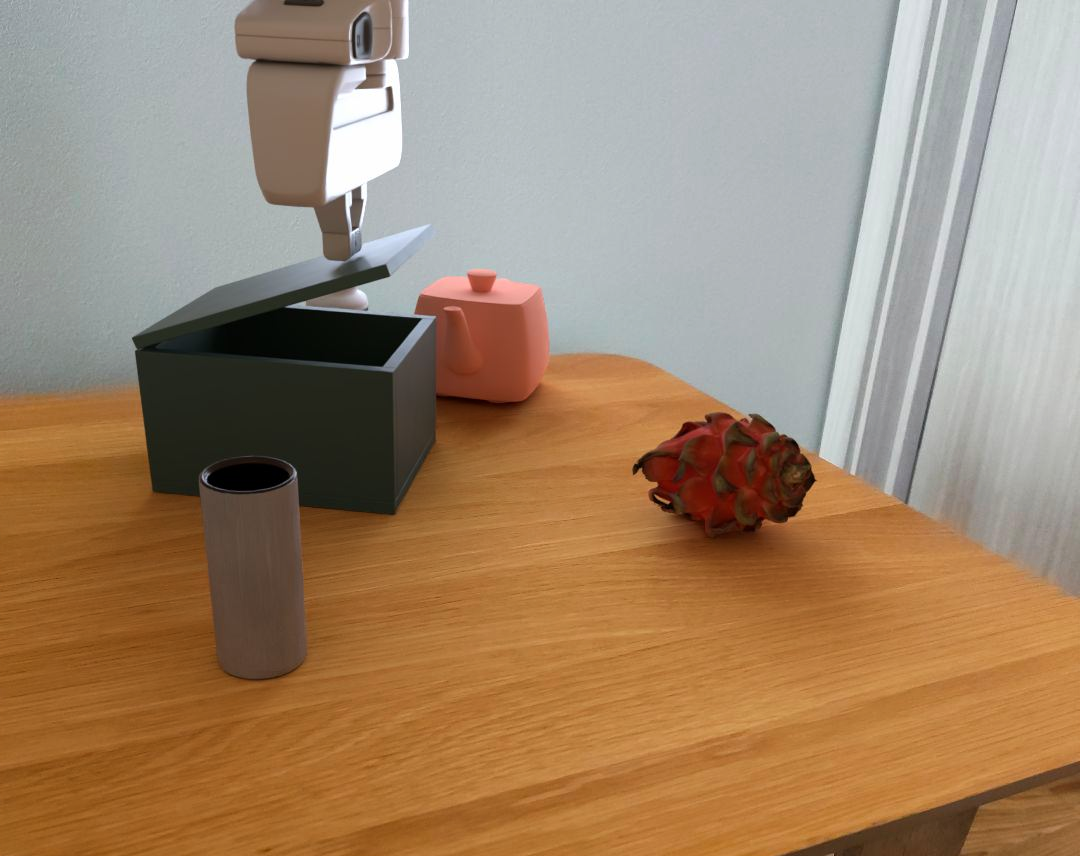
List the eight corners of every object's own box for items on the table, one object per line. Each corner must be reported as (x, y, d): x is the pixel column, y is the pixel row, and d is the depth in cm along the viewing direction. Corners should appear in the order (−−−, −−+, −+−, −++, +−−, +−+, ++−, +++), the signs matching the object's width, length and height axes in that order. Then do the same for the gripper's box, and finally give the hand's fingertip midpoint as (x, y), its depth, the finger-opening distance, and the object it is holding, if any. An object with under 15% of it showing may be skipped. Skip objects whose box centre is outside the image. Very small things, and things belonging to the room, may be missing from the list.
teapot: (561, 369, 101) (567, 258, 96) (513, 433, 85) (518, 304, 80) (446, 355, 103) (447, 246, 98) (378, 415, 87) (376, 289, 83)
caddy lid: (436, 234, 76) (432, 223, 76) (390, 276, 64) (385, 263, 63) (218, 297, 80) (214, 287, 79) (136, 349, 67) (130, 337, 67)
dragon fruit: (815, 565, 70) (637, 561, 74) (818, 458, 74) (649, 458, 78) (815, 500, 63) (617, 498, 66) (818, 385, 67) (632, 388, 70)
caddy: (435, 440, 83) (436, 316, 78) (394, 514, 71) (392, 372, 66) (228, 422, 84) (217, 298, 80) (152, 492, 72) (134, 350, 68)
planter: (200, 653, 55) (180, 469, 50) (276, 623, 58) (264, 448, 53) (247, 691, 52) (230, 501, 47) (324, 658, 55) (315, 476, 50)
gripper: (333, 21, 73) (340, 225, 80) (220, 22, 55) (241, 287, 61) (423, 26, 73) (423, 231, 79) (338, 29, 55) (347, 296, 61)
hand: (342, 256), depth 70 cm, fingers closed
